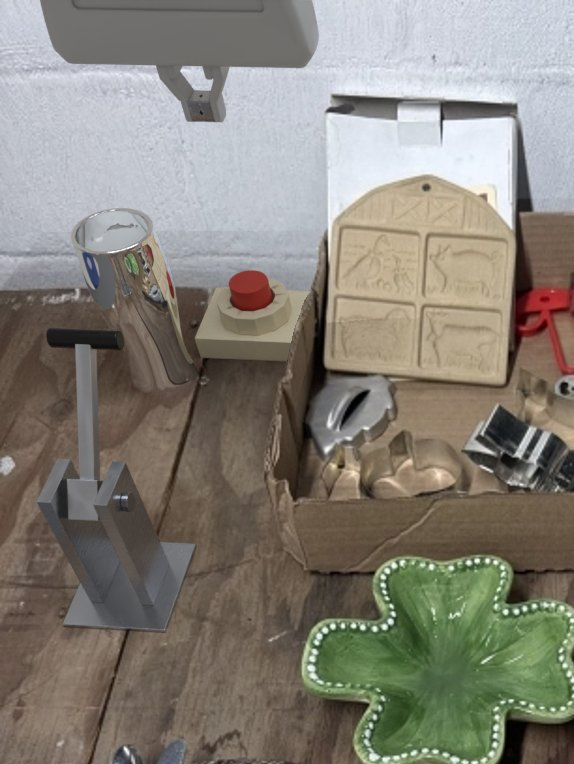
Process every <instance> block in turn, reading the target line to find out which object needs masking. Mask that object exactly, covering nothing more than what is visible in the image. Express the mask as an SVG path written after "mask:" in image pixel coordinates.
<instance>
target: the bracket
mask: <svg viewBox="0 0 574 764" xmlns="http://www.w3.org/2000/svg"><path fill="white" fill-rule="evenodd" d="M67 479H79V480H80V478H79V473H78V471H77V469H76V467H75V465H74V463H73V461H72V459H71V458H57V459H56V461H55V463H54V465H53V466H52V469H51V471H50V473H49V475H48V476H47V479H46V481H45V483H44V485H43V487H42V490H41V492H40V494H39V495H38V498H37V500H36V504H37V505H38V507H39V509H40V511H41V513H42V515H43V517H44V518H45V521H46V522H47V524H48V526H49V528H50V530H51V532H52V533H53V535H54V536H55V539H56V540H57V542H58V544H59V546H60V548H61V550H62V551H63V553H64V555H65V557H66V559H67V561H68V563H69V564H70V566H71V568H72V570H73V572H74V574H75V576H76V577H77V580H78V581H79V585H78V587H77V589H76V592H75V593H74V597H72V598H73V599H72V601H71V603H70V605H69V608H68V610H67V611H66V615H65V617H64V619H63V621H62V626H63V627H64V628H76V629H77V628H78V629H94V630H113V631H129V632H131V631H132V632H145V633H149V632H150V633H167V630H168V628H169V625H170V622H171V619H172V616H173V615H174V611H175V608H176V605H177V603H178V600H179V597H180V594H181V593H182V590H183V586H184V583H185V580H186V578H187V575H188V572H189V570H190V567H191V564H192V560H193V558H194V555H195V552H196V550H197V544H196V543H189V542H172V541H171V542H168V541H160V539H159V537H158V534H157V532H156V530H155V527H154V524H153V523H152V520H151V518H150V515H149V513H148V511H147V508H146V506H145V504H144V501H143V499H142V497H141V495H140V492H139V490H138V487H137V485H136V484H135V481H134V478H133V476H132V474H131V472H130V469H129V467H128V464H127V462H126V461H114V460H112V461H111V463H110V464H109V467H108V468H107V471H106V473H105V476H104V477H103V480H102V481H103V483H102V485H101V487H100V489H99V492H98V494H97V496H96V498H95V501H94V503H93V506H94V508H95V510H96V512H97V514H98V516H99V518H100V521H91V520H71V519H68V495H67Z"/></svg>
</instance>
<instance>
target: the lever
mask: <svg viewBox="0 0 574 764" xmlns="http://www.w3.org/2000/svg"><path fill="white" fill-rule="evenodd" d="M45 336H46V342H47V344H48V346H49V347H50V348H53V349H54V348H55V349H74V350H75V351H74V352H75V353H74V354H75V356H74V357H75V382H76V383H75V385H76V413H77V442H78V443H77V445H78V472H79V473H78V475H79V478H80V480H79V479H67V495H68V519H71V520H91V521H100V518H99V516H98V514H97V512H96V510H95V508H94V506H93V503H94V501H95V498H96V496H97V494H98V492H99V489H100V487H101V485H102V483H103V481H104V480H101V456H100V427H99V426H100V424H99V423H100V422H99V391H98V389H99V388H98V357H97V355H98V353H97V352H98V351H97V350H99V351H100V350H101V351H123V348H124V337H123V334H122V332H121V331H119V330H110V329H95V328H75V327H74V328H73V327H71V328H69V327H49V328H47V330H46V334H45Z"/></svg>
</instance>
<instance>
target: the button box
mask: <svg viewBox="0 0 574 764" xmlns="http://www.w3.org/2000/svg"><path fill="white" fill-rule="evenodd" d="M267 278H268V282H269V286H270V290H271V294H272V303H271V304H270V305H268V306H267V307H266V308H263V309H260V310H256V311H241V310H239V309H237V308H236V307H235V306H234V302H233V299H232V295H231V292H230V288H229V284H228V285H227V286H225V287H215V288H214V291H213V294H212V296H211V299H210V301H209V303H208V306H207V308H206V310H205V313H204V315H203V318H202V321H200V325H199V327H198V329H197V331H196V334H195V336H194V341H195V344H196V348H197V350H198V353H199V356H200V358H201V359H221V360H223V359H225V360H226V359H227V360H242V361H243V360H244V361H245V360H249V361H270V362H288V361H287V358H288V354H289V349H290V345H291V341H292V336H293V332H294V328H295V325H296V323H297V320H298V318H299V315H300V313H301V308H302V305H303V303H304V300H305V299H306V297H307V295H308V294H309V292H310V290H289V289H288V290H287V288H286V286H285V285H284V284H283V282H280V281H278V280H276V279H273V278H271V277H267Z"/></svg>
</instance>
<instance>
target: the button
mask: <svg viewBox="0 0 574 764" xmlns="http://www.w3.org/2000/svg"><path fill="white" fill-rule="evenodd" d="M268 278H269V277H268V276H267V275H266V274H265V273H264V272H262V271H259V270H252V269H250V270H249V269H248V270H243V271H239V272H238V273H236V274H234V275H233V276H231V277H230V278H229V281H228V285H229V288H230V292H231V295H232V299H233V302H234V306H235V307H236V308H237V309H239V310H241V311H256V310H260V309H263V308H266V307H267V306H268V305H270V304H271V303H272V294H271V290H270V286H269V282H268Z"/></svg>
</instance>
